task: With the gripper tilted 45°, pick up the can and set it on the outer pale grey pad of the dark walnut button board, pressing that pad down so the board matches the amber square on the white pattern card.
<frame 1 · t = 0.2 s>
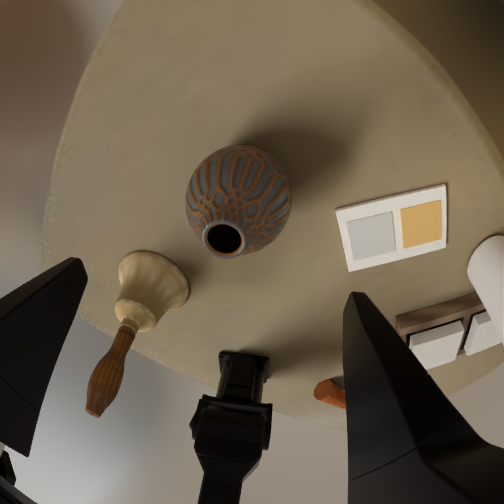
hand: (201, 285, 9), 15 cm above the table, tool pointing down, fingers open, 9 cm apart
hand bell: (153, 280, 30), on the table
outer pad: (490, 329, 25), point 3 cm above the table, slide at 0.0 cm
can: (487, 257, 23), on the table
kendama: (358, 397, 41), on the table
inner pad: (434, 349, 27), point 3 cm above the table, slide at 0.0 cm
pattern card: (396, 228, 22), on the table
vase: (246, 177, 22), on the table
button board: (457, 323, 28), on the table
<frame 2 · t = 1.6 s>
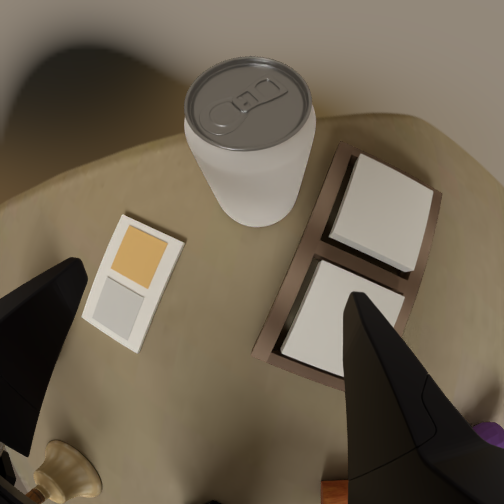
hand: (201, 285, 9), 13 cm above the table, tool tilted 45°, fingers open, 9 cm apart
hand bell: (73, 468, 20), on the table
outer pad: (385, 212, 19), point 3 cm above the table, slide at 0.0 cm
can: (257, 190, 23), on the table
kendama: (413, 461, 19), on the table
inner pad: (344, 324, 18), point 3 cm above the table, slide at 0.0 cm
pattern card: (129, 283, 22), on the table
button board: (356, 269, 22), on the table
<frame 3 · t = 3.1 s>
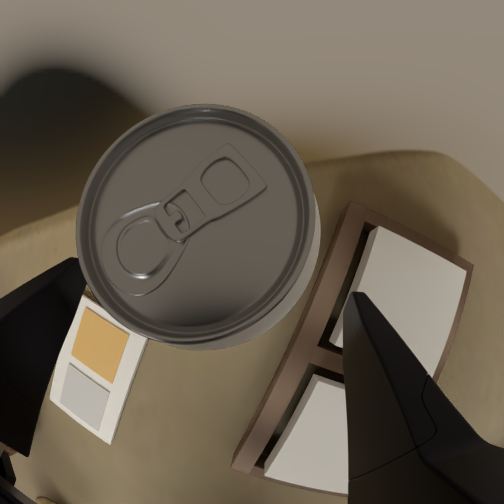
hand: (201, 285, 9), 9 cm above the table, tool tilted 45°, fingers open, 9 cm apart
outer pad: (404, 306, 14), point 3 cm above the table, slide at 0.0 cm
can: (237, 268, 18), on the table
inner pad: (340, 442, 13), point 3 cm above the table, slide at 0.0 cm
pattern card: (92, 372, 17), on the table
button board: (360, 367, 16), on the table
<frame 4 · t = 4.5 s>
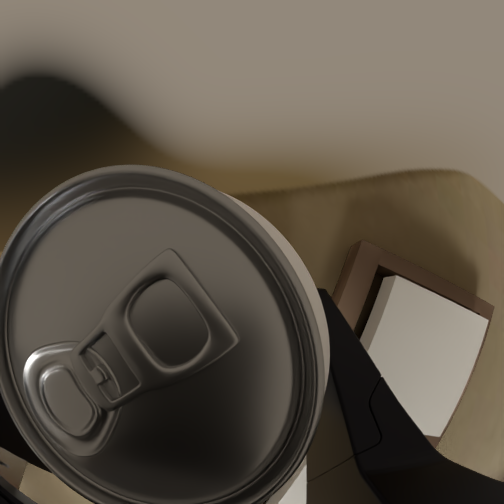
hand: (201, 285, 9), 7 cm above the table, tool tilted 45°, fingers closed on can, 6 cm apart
outer pad: (418, 363, 11), point 3 cm above the table, slide at 0.0 cm
can: (227, 316, 15), on the table, touching gripper
inner pad: (337, 498, 10), point 3 cm above the table, slide at 0.0 cm
button board: (363, 420, 13), on the table
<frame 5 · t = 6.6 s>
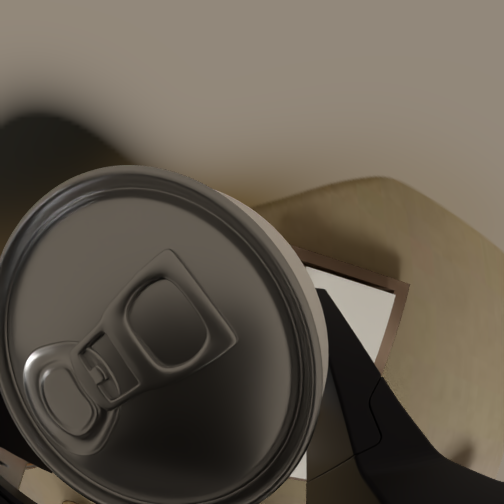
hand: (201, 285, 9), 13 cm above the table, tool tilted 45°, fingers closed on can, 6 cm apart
outer pad: (335, 328, 18), point 3 cm above the table, slide at 0.0 cm
can: (226, 315, 15), point 6 cm above the table, touching gripper
inner pad: (292, 436, 17), point 3 cm above the table, slide at 0.0 cm
button board: (309, 375, 20), on the table
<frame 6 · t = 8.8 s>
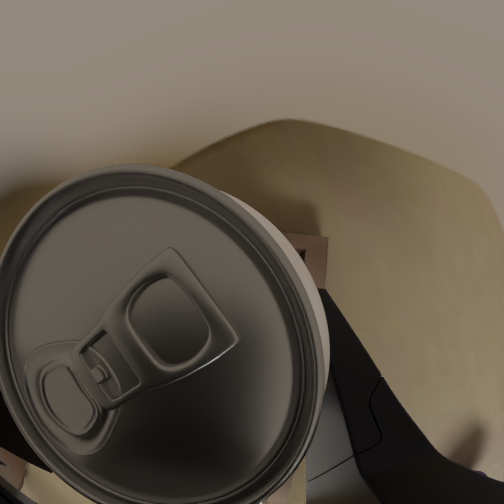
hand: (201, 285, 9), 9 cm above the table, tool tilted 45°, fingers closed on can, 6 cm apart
can: (227, 315, 15), point 2 cm above the table, touching gripper, outer pad
button board: (225, 376, 17), on the table
when the fingers open (9 cm above the table, at t = 9.2 s): can stays where it is, resting on outer pad.
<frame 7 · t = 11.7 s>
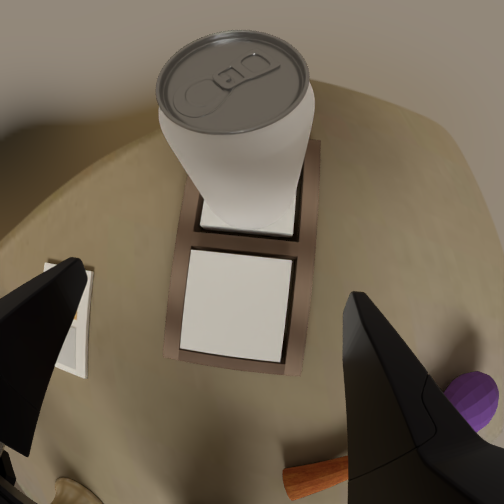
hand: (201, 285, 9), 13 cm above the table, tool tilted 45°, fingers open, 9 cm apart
hand bell: (82, 501, 19), on the table
outer pad: (251, 189, 21), point 1 cm above the table, slide at 1.3 cm, touching can
can: (250, 188, 21), point 2 cm above the table, touching outer pad
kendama: (390, 432, 19), on the table
inner pad: (235, 305, 19), point 3 cm above the table, slide at 0.0 cm
pattern card: (63, 319, 22), on the table
button board: (246, 248, 22), on the table
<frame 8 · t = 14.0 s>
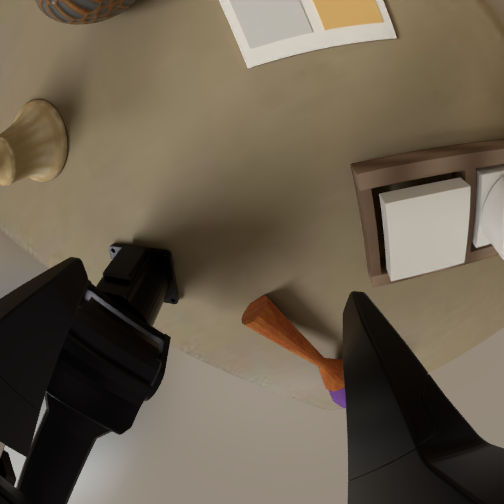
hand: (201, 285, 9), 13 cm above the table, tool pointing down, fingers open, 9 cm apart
hand bell: (39, 140, 19), on the table
outer pad: (503, 202, 16), point 1 cm above the table, slide at 1.3 cm, touching can
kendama: (318, 342, 31), on the table
inner pad: (427, 230, 17), point 3 cm above the table, slide at 0.0 cm
pattern card: (307, 6, 12), on the table
button board: (458, 202, 18), on the table
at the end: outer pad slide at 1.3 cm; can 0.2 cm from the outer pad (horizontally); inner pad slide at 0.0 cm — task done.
